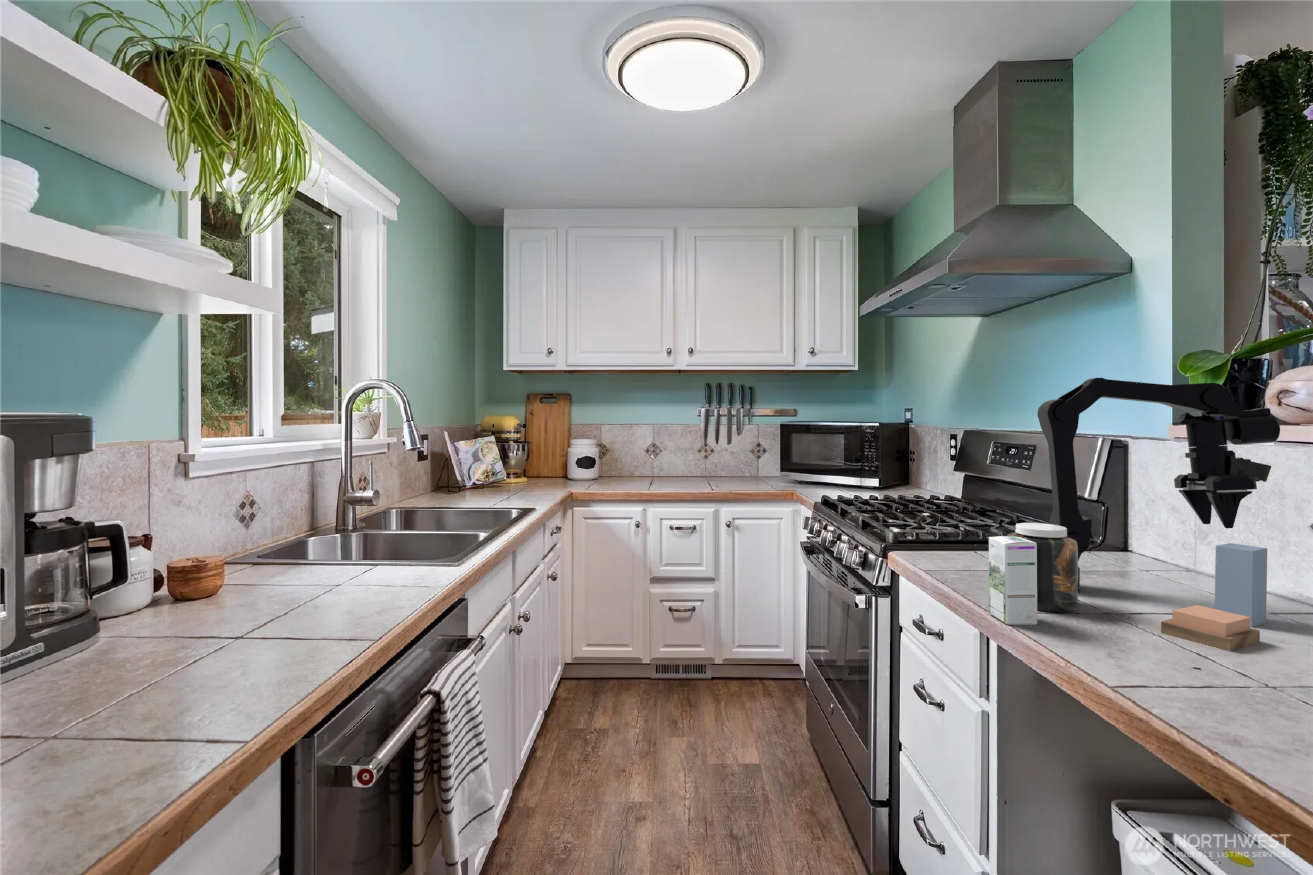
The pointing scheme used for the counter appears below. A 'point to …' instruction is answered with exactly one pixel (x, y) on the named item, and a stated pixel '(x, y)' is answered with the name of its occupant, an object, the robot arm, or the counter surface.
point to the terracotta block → (1211, 620)
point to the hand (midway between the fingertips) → (1217, 526)
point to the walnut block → (1211, 636)
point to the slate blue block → (1241, 581)
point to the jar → (1053, 565)
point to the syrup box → (1013, 580)
